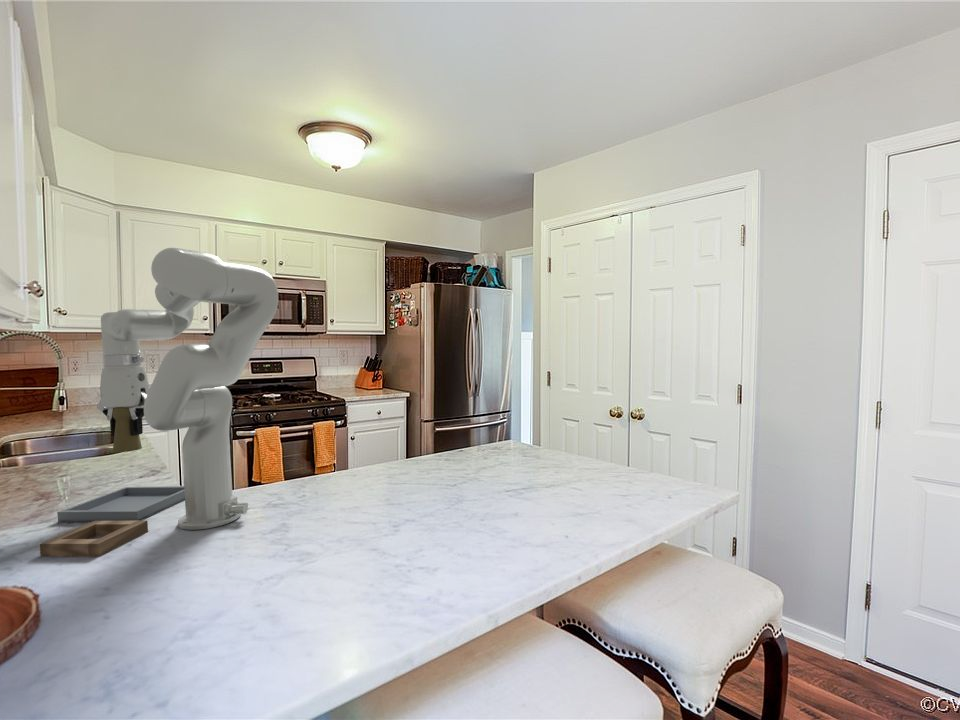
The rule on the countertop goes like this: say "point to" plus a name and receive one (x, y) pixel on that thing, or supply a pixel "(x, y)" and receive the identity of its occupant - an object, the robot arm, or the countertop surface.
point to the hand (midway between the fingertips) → (127, 434)
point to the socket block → (82, 545)
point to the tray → (124, 505)
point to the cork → (124, 432)
